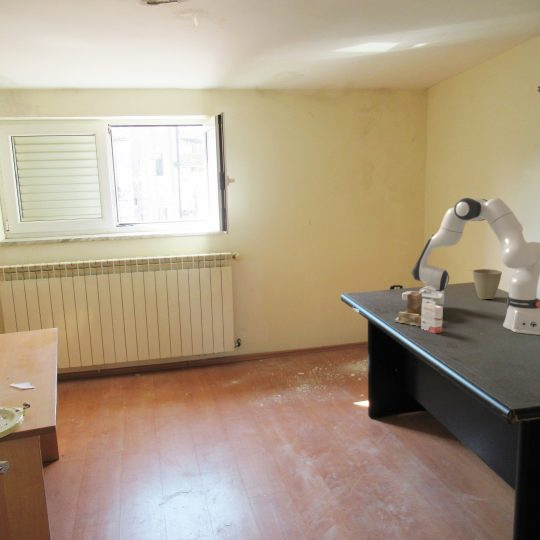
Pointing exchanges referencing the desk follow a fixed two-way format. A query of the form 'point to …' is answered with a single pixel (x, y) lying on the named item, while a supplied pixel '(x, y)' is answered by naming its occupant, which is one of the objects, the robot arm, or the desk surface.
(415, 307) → the tall tan wooden block
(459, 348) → the desk surface
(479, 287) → the plant pot
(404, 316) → the track
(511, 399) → the desk surface
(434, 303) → the ink cartridge box
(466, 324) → the desk surface
